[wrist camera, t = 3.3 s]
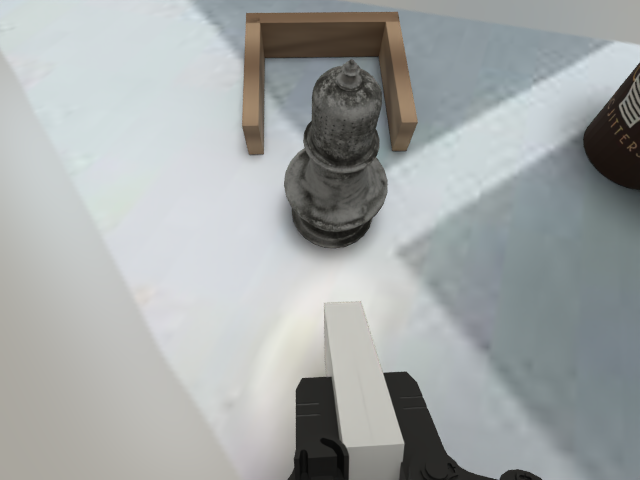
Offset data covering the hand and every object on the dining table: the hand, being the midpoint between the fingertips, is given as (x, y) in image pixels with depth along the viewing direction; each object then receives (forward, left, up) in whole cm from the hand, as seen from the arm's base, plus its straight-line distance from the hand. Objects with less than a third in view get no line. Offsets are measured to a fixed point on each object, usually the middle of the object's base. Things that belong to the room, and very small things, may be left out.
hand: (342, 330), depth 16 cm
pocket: (+15, -9, -6) cm, 19 cm away
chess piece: (+7, -5, -7) cm, 11 cm away
